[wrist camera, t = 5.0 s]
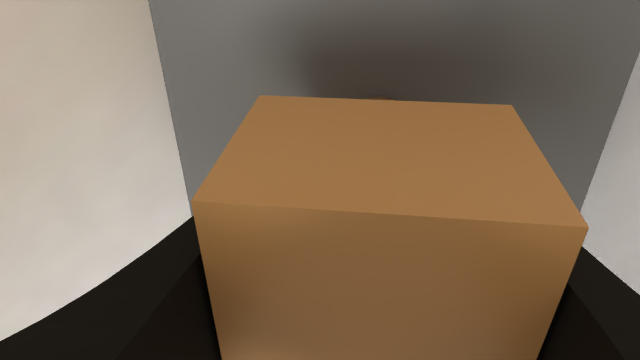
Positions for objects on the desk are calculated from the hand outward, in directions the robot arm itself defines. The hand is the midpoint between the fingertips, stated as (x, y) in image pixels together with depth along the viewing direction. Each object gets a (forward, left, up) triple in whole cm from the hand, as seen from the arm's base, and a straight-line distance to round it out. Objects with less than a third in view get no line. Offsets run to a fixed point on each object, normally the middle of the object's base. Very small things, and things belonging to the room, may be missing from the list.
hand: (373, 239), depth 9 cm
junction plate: (0, 0, -7) cm, 7 cm away
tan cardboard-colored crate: (0, 0, -1) cm, 1 cm away
